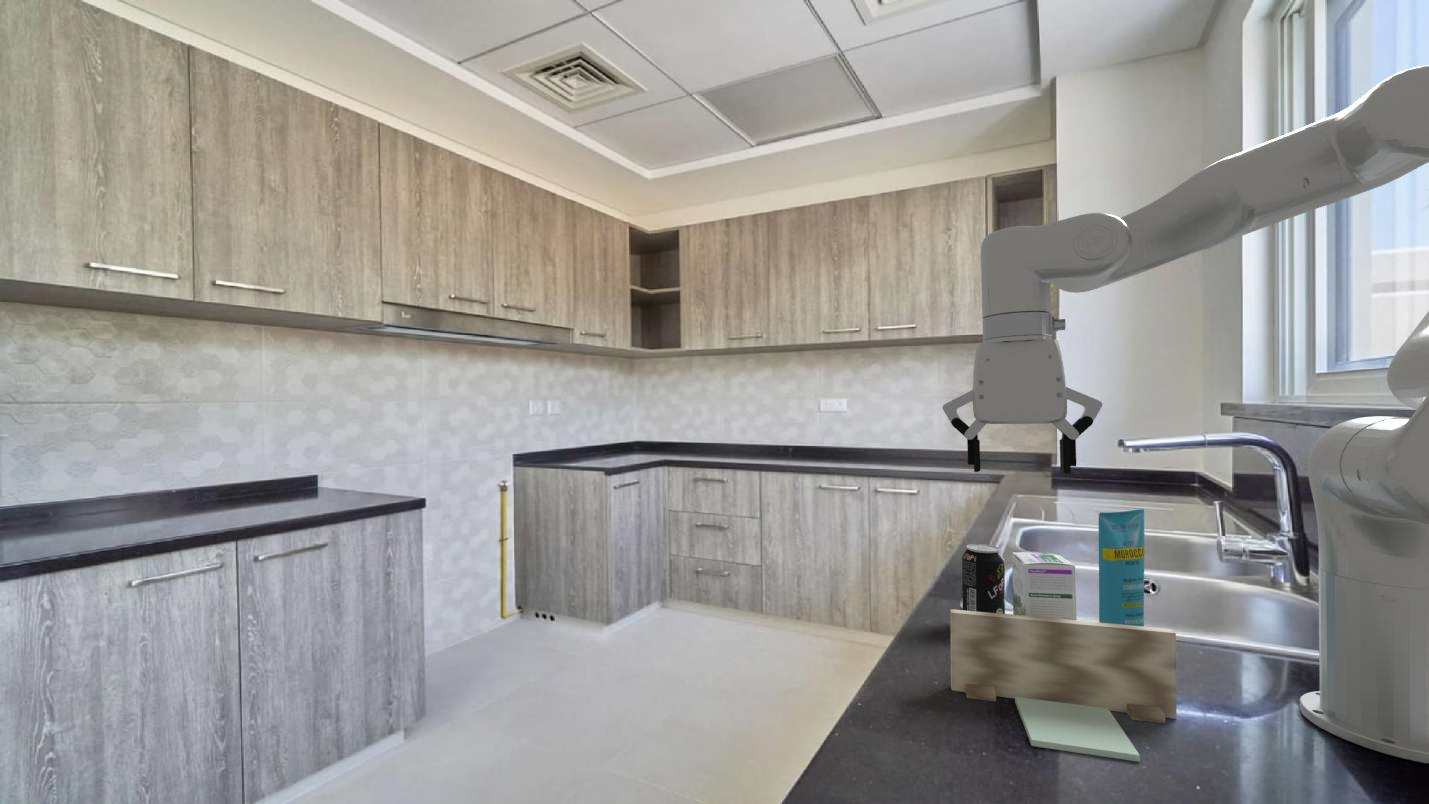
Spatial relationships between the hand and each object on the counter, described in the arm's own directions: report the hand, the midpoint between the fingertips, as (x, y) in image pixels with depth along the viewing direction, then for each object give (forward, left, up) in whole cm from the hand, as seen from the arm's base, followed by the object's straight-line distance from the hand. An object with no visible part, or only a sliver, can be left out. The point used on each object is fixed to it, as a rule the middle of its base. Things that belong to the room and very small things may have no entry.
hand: (1020, 471), depth 73 cm
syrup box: (-3, -1, -25) cm, 25 cm away
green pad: (-3, +12, -25) cm, 28 cm away
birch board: (-3, +6, -25) cm, 26 cm away
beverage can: (+2, -16, -25) cm, 30 cm away
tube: (-14, -10, -25) cm, 30 cm away
